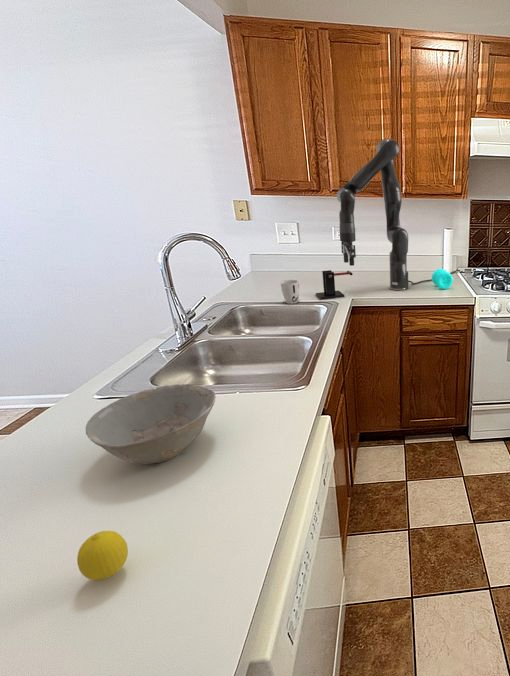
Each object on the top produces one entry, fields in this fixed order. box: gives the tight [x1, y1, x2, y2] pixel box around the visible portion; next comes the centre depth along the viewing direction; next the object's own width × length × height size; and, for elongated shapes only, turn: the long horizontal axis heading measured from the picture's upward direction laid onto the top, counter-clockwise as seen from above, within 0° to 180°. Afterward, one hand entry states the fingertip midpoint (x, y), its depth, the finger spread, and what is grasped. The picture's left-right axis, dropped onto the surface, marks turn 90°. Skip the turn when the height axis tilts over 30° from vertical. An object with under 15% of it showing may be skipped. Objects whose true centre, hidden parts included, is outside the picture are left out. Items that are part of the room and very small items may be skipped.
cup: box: [280, 279, 300, 305], centre depth 189 cm, size 8×8×10 cm
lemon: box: [76, 530, 129, 581], centre depth 59 cm, size 6×6×8 cm
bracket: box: [315, 269, 345, 301], centre depth 199 cm, size 12×9×13 cm
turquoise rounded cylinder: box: [431, 268, 454, 290], centre depth 223 cm, size 10×10×10 cm
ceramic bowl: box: [85, 383, 216, 465], centre depth 86 cm, size 22×23×10 cm
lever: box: [334, 270, 353, 277], centre depth 200 cm, size 13×5×2 cm, turn 122°
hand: (349, 263), depth 202 cm, fingers open, 8 cm apart
